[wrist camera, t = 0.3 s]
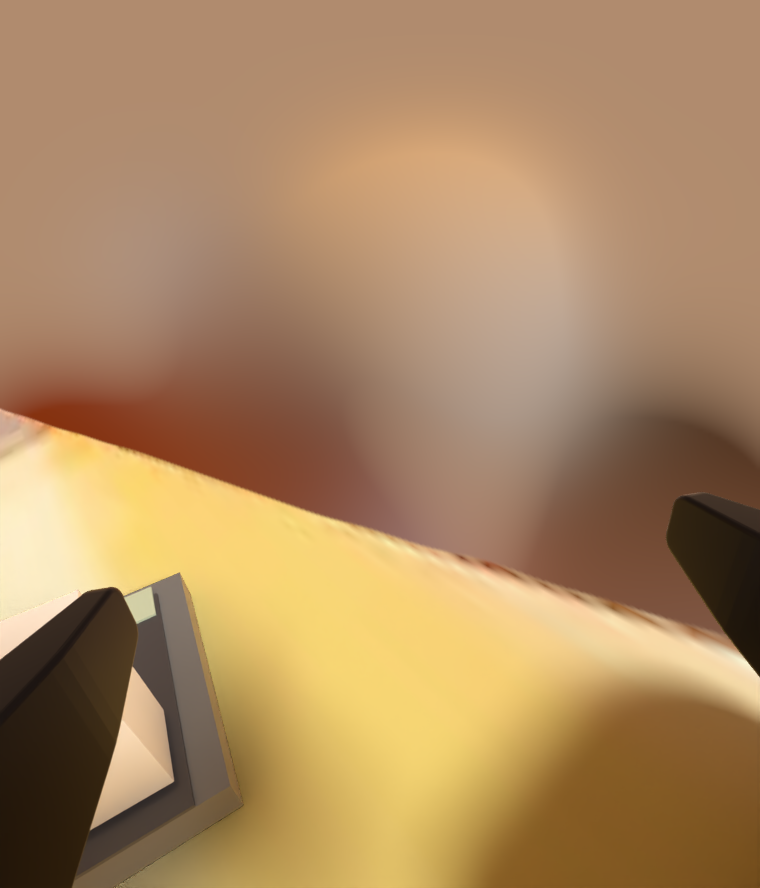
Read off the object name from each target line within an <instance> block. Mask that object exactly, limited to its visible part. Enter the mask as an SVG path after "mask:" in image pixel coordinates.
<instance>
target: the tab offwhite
mask: <svg viewBox="0 0 760 888" xmlns="http://www.w3.org/2000/svg"><path fill="white" fill-rule="evenodd" d="M81 595H82V594H81V593H80V592H79V590H76V591H73V592H71V593H68V594H66V595H63V596H61V597H58V598H56V599H53V600H51V601H48V602H46V603H43V604H41V605H39V606H36V607H34V608H31V609H29V610H26V611H24V612H21V613H19V614H16V615H14V616H11V617H9V618H6V619H4V620H1V621H0V659H1V658H3V657H4V656H5V655H6V654H8V653H9V652H10V651H12V650H13V649H14V648H15V647H17V646H18V645H19V644H20V643H22V642H23V641H24V640H25V639H27V638H28V637H29V636H31V635H32V634H33V633H34V632H36V631H37V630H38V629H39V628H41V627H42V626H43V625H44V624H46V623H47V622H48V621H49V620H51V619H52V618H53V617H55V616H56V615H57V614H58V613H60V612H61V611H62V610H63V609H65V608H66V607H67V606H68V605H70V604H71V603H72V602H73V601H75V600H76V599H77V598H79V597H80V596H81ZM173 782H174V776H173V769H172V762H171V756H170V749H169V742H168V736H167V729H166V722H165V716H164V710H163V708H162V707H161V705H160V704H159V703H158V701H157V700H156V698H155V697H154V696H153V694H152V693H151V691H150V690H149V689H148V687H147V686H146V684H145V683H144V682H143V680H142V679H141V677H140V676H139V675H138V673H137V672H136V670H135V669H134V668H133V666H132V671H131V676H130V681H129V686H128V691H127V696H126V701H125V706H124V711H123V716H122V721H121V725H120V730H119V734H118V738H117V743H116V746H115V750H114V753H113V757H112V760H111V764H110V767H109V770H108V773H107V777H106V780H105V783H104V786H103V789H102V793H101V796H100V799H99V802H98V806H97V809H96V812H95V815H94V819H93V822H92V825H91V828H90V830H92V829H93V828H95V827H97V826H98V825H100V824H102V823H104V822H105V821H107V820H109V819H111V818H112V817H114V816H116V815H117V814H119V813H121V812H123V811H124V810H126V809H128V808H129V807H131V806H133V805H135V804H136V803H138V802H140V801H142V800H143V799H145V798H147V797H148V796H150V795H152V794H154V793H155V792H157V791H159V790H160V789H162V788H164V787H166V786H167V785H169V784H171V783H173Z"/></svg>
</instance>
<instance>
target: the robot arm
mask: <svg viewBox="0 0 760 888" xmlns="http://www.w3.org/2000/svg"><path fill="white" fill-rule="evenodd" d="M666 541H667V545H668V547H669V549H670V551H671V553H672V554H673V556H674V557H675V559H676V560H677V562H678V563H679V565H680V566H681V568H682V570H683V571H684V573H685V574H686V576H687V577H688V579H689V580H690V582H691V583H692V585H693V586H694V588H695V589H696V591H697V592H698V594H699V595H700V597H701V598H702V600H703V601H704V603H705V604H706V606H707V607H708V609H709V610H710V612H711V614H712V615H713V616H714V618H715V619H716V621H717V622H718V624H719V625H720V627H721V628H722V630H723V631H724V632H725V634H726V635H727V636H728V638H729V639H730V640H731V642H732V643H733V644H734V645H735V647H736V648H737V649H738V650H739V652H740V653H741V654H742V655H743V657H744V658H745V659H746V661H747V662H748V663H749V664H750V666H751V667H752V668H753V669H754V671H755V672H756V673H757V674H758V676H759V677H760V510H759V509H756V508H753V507H749V506H746V505H743V504H740V503H737V502H734V501H731V500H728V499H725V498H721V497H718V496H715V495H712V494H709V493H703V492H701V493H693V494H687V495H682V496H680V497H678V498H677V499H676V500H675V502H674V504H673V508H672V512H671V516H670V520H669V524H668V529H667V532H666ZM137 641H138V627H137V624H136V621H135V619H134V617H133V615H132V613H131V611H130V609H129V607H128V605H127V603H126V601H125V599H124V596H123V594H122V593H121V591H120V590H119V589H117V588H115V587H108V588H102V589H96V590H91V591H87V592H85V593H84V594H82V595H81V596H80V597H79V598H77V599H76V600H75V601H73V602H72V603H71V604H70V605H68V606H67V607H66V608H65V609H63V610H62V611H61V612H60V613H58V614H57V615H56V616H55V617H53V618H52V619H51V620H49V621H48V622H47V623H46V624H44V625H43V626H42V627H41V628H39V629H38V630H37V631H36V632H34V633H33V634H32V635H31V636H29V637H28V638H27V639H25V640H24V641H23V642H22V643H20V644H19V645H18V646H17V647H15V648H14V649H13V650H12V651H10V652H9V653H8V654H6V655H5V656H4V657H3V658H1V659H0V888H72V887H73V883H74V880H75V877H76V874H77V870H78V867H79V864H80V861H81V857H82V854H83V851H84V848H85V845H86V841H87V838H88V835H89V832H90V828H91V825H92V822H93V819H94V815H95V812H96V809H97V806H98V802H99V799H100V796H101V793H102V789H103V786H104V783H105V780H106V777H107V773H108V770H109V767H110V764H111V760H112V757H113V753H114V750H115V746H116V743H117V738H118V734H119V730H120V725H121V721H122V716H123V711H124V706H125V701H126V696H127V691H128V686H129V681H130V676H131V671H132V666H133V661H134V656H135V651H136V646H137Z"/></svg>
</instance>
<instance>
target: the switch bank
mask: <svg viewBox="0 0 760 888" xmlns="http://www.w3.org/2000/svg"><path fill="white" fill-rule="evenodd" d="M124 599H125V601H126V603H127V605H128V607H129V609H130V611H131V613H132V615H133V617H134V619H135V621H136V624H137V627H138V641H137V646H136V651H135V656H134V661H133V668H134V669H135V670H136V672H137V673H138V675H139V676H140V677H141V679H142V680H143V682H144V683H145V684H146V686H147V687H148V689H149V690H150V691H151V693H152V694H153V696H154V697H155V698H156V700H157V701H158V703H159V704H160V705H161V707H162V708H163V710H164V716H165V722H166V729H167V736H168V742H169V749H170V756H171V762H172V769H173V776H174V782H173V783H171V784H169V785H167V786H166V787H164V788H162V789H160V790H159V791H157V792H155V793H154V794H152V795H150V796H148V797H147V798H145V799H143V800H142V801H140V802H138V803H136V804H135V805H133V806H131V807H129V808H128V809H126V810H124V811H123V812H121V813H119V814H117V815H116V816H114V817H112V818H111V819H109V820H107V821H105V822H104V823H102V824H100V825H98V826H97V827H95V828H93V829H92V830H90V832H89V835H88V838H87V841H86V845H85V848H84V851H83V854H82V857H81V861H80V864H79V867H78V870H77V874H76V877H75V880H74V883H73V887H72V888H113V887H115V886H116V885H118V884H120V883H121V882H123V881H124V880H126V879H128V878H129V877H131V876H132V875H134V874H135V873H137V872H139V871H140V870H142V869H143V868H145V867H147V866H148V865H150V864H151V863H153V862H154V861H156V860H158V859H159V858H161V857H162V856H164V855H166V854H167V853H169V852H170V851H172V850H173V849H175V848H177V847H178V846H180V845H181V844H183V843H185V842H186V841H188V840H189V839H191V838H192V837H194V836H196V835H197V834H199V833H200V832H202V831H204V830H205V829H207V828H208V827H210V826H211V825H213V824H215V823H216V822H218V821H219V820H221V819H223V818H224V817H226V816H227V815H229V814H230V813H232V812H234V811H235V810H237V809H238V808H240V807H241V806H243V801H242V797H241V793H240V789H239V785H238V781H237V777H236V773H235V769H234V765H233V762H232V758H231V754H230V750H229V746H228V742H227V738H226V734H225V730H224V726H223V722H222V718H221V714H220V710H219V706H218V702H217V698H216V694H215V690H214V686H213V682H212V678H211V674H210V670H209V666H208V662H207V658H206V654H205V650H204V646H203V642H202V638H201V634H200V630H199V626H198V622H197V618H196V614H195V610H194V606H193V602H192V598H191V594H190V592H189V590H188V588H187V586H186V584H185V582H184V580H183V578H182V576H181V574H180V573H177V574H175V575H173V576H170V577H168V578H166V579H163V580H161V581H158V582H156V583H154V584H151V585H149V586H147V587H144V588H142V589H139V590H137V591H135V592H132V593H130V594H128V595H125V596H124Z"/></svg>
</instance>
